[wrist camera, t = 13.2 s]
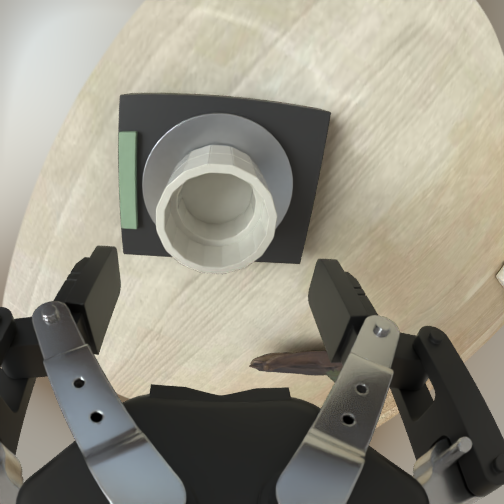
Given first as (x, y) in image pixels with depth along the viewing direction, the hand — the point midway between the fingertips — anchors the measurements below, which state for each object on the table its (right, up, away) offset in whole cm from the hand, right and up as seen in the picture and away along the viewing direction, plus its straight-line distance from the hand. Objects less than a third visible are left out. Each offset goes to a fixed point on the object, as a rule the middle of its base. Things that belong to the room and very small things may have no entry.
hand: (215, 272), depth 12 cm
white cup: (-1, +5, +8) cm, 9 cm away
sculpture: (+14, -12, +24) cm, 30 cm away
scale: (-1, +7, +11) cm, 13 cm away
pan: (-1, +5, +9) cm, 10 cm away
